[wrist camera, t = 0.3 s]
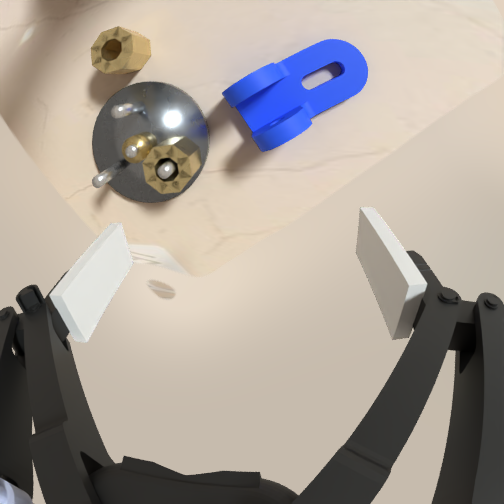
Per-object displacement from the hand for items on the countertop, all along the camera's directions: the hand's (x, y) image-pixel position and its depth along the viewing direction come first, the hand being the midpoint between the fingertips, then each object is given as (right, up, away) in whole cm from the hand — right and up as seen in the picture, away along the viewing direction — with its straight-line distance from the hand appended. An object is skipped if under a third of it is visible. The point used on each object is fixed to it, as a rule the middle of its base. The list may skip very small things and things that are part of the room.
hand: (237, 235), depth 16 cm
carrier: (-14, +15, +23) cm, 31 cm away
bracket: (+7, +21, +19) cm, 29 cm away
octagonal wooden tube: (-16, +27, +16) cm, 35 cm away
